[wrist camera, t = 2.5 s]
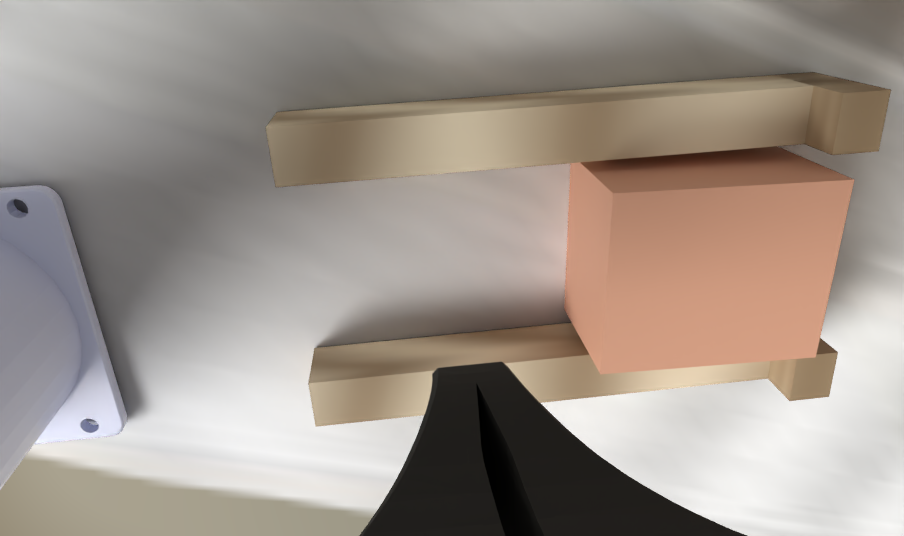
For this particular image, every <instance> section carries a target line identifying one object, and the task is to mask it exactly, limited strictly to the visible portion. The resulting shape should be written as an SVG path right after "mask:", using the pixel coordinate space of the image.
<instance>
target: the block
mask: <svg viewBox="0 0 904 536" xmlns="http://www.w3.org/2000/svg"><path fill="white" fill-rule="evenodd" d="M853 184H854V179H852V178H849V177H847V176H845V175H842V174H840V173H838V172H835V171H833V170H831V169H828V168H826V167H824V166H821V165H819V164H817V163H814V162H812V161H810V160H808V159H805V158H803V157H801V156H798V155H796V154H794V153H791V152H789V151H787V150H784V149H782V148H780V147H777V146H774V147H762V148H749V149H737V150H725V151H713V152H701V153H688V154H676V155H664V156H652V157H640V158H627V159H615V160H603V161H591V162H579V163H571V167H570V189H569V212H568V235H567V258H566V281H565V304H564V309H565V311H566V313H567V315H568V317H569V319H570V320H571V322H572V324H573V326H574V328H575V329H576V331H577V333H578V335H579V337H580V338H581V340H582V342H583V344H584V346H585V347H586V349H587V351H588V353H589V355H590V356H591V358H592V360H593V362H594V364H595V365H596V367H597V369H598V371H599V373H600V374H611V373H624V372H637V371H649V370H662V369H675V368H688V367H700V366H713V365H726V364H738V363H751V362H764V361H776V360H789V359H802V358H814V357H816V354H817V349H818V344H819V340H820V335H821V331H822V326H823V321H824V317H825V312H826V308H827V303H828V299H829V294H830V289H831V285H832V280H833V276H834V271H835V266H836V262H837V257H838V253H839V248H840V243H841V239H842V234H843V230H844V225H845V221H846V216H847V211H848V207H849V202H850V198H851V193H852V188H853Z"/></svg>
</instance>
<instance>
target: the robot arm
mask: <svg viewBox="0 0 904 536" xmlns="http://www.w3.org/2000/svg"><path fill="white" fill-rule="evenodd" d="M14 199H18V200H21V201H23V202H24V203H25V204H26V206H27V207H28V213H22V212H20V211H19V210H17V208H16V207H15V205H14ZM86 419H93V420H95V421H96V422H97V423H98V425H92V424H90V423H88V422H87V420H86ZM126 422H127V414H126V410H125V407H124V404H123V401H122V397H121V394H120V391H119V387H118V384H117V381H116V378H115V374H114V371H113V368H112V364H111V361H110V358H109V354H108V351H107V348H106V345H105V341H104V338H103V335H102V331H101V328H100V325H99V321H98V318H97V315H96V312H95V308H94V305H93V302H92V298H91V295H90V292H89V288H88V285H87V282H86V279H85V275H84V272H83V269H82V265H81V262H80V259H79V255H78V252H77V249H76V246H75V242H74V239H73V236H72V232H71V229H70V226H69V222H68V219H67V216H66V213H65V209H64V206H63V203H62V200H61V198H60V196H59V195H58V194H57V193H56V192H55V191H54V190H53V189H51V188H49V187H47V186H41V185H32V186H20V187H7V188H0V490H1V488H2V487H3V485H4V484H5V483H6V481H7V480H8V479H9V477H10V476H11V475H12V473H13V472H14V471H15V469H16V468H17V466H18V465H19V464H20V462H21V461H22V460H23V458H24V457H25V456H26V454H27V453H28V451H29V450H30V449H31V447H32V446H33V445H34V444H42V443H52V442H62V441H71V440H81V439H90V438H100V437H109V436H114V435H117V434H119V433H120V432H121V431H122V430H123V428H124V426H125V424H126ZM360 536H747V535H744V534H741V533H739V532H736V531H733V530H731V529H729V528H726V527H724V526H722V525H720V524H718V523H715V522H713V521H711V520H709V519H707V518H704V517H702V516H700V515H698V514H696V513H693V512H691V511H689V510H688V509H686V508H684V507H682V506H680V505H678V504H676V503H674V502H672V501H670V500H668V499H666V498H665V497H663V496H661V495H659V494H658V493H656V492H654V491H652V490H651V489H649V488H647V487H645V486H644V485H642V484H640V483H639V482H637V481H635V480H634V479H632V478H631V477H629V476H627V475H626V474H624V473H623V472H621V471H620V470H619V469H617V468H616V467H614V466H613V465H611V464H610V463H608V462H607V461H606V460H604V459H603V458H601V457H600V456H599V455H597V454H596V453H595V452H593V451H592V450H591V449H590V448H588V447H587V446H586V445H585V444H584V443H583V442H581V441H580V440H579V439H578V438H577V437H575V436H574V435H573V434H572V433H571V432H570V431H569V430H568V429H566V428H565V427H564V426H563V425H562V424H561V423H560V422H559V421H558V420H557V419H556V418H555V417H554V416H553V415H552V414H551V413H550V412H549V411H548V410H547V409H546V408H545V407H544V406H543V405H542V404H541V403H540V402H539V401H538V400H537V399H536V398H535V397H534V396H533V395H532V394H531V393H530V392H529V391H528V390H527V388H526V387H525V386H524V385H523V384H522V383H521V382H520V381H519V379H518V378H517V377H516V376H515V375H514V373H513V372H512V371H511V370H510V369H509V367H508V366H507V365H506V364H504V363H503V362H492V363H481V364H471V365H461V366H451V367H441V368H437V369H436V370H435V371H434V372H433V373H432V388H431V393H430V398H429V402H428V405H427V409H426V412H425V415H424V418H423V421H422V424H421V426H420V429H419V432H418V435H417V437H416V439H415V442H414V444H413V446H412V448H411V451H410V453H409V455H408V457H407V459H406V462H405V464H404V466H403V468H402V470H401V472H400V474H399V475H398V477H397V479H396V481H395V483H394V485H393V486H392V488H391V490H390V491H389V493H388V495H387V496H386V498H385V500H384V501H383V503H382V504H381V506H380V507H379V509H378V510H377V512H376V513H375V515H374V516H373V517H372V519H371V520H370V522H369V524H368V525H367V526H366V528H365V529H364V530H363V532H362V533H361V534H360Z"/></svg>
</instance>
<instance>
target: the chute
mask: <svg viewBox="0 0 904 536" xmlns="http://www.w3.org/2000/svg"><path fill="white" fill-rule="evenodd" d="M890 92H891V90H890V89H885V88H881V87H876V86H872V85H868V84H863V83H859V82H854V81H850V80H845V79H841V78H836V77H832V76H828V75H823V74H819V73H814V72H808V73H795V74H781V75H768V76H754V77H741V78H727V79H714V80H701V81H687V82H674V83H660V84H647V85H633V86H620V87H607V88H593V89H580V90H566V91H553V92H540V93H526V94H513V95H499V96H486V97H472V98H459V99H446V100H432V101H419V102H405V103H392V104H378V105H365V106H352V107H338V108H325V109H311V110H298V111H284V112H277V113H276V114H275V115H274V117H273V118H272V119H271V121H270V122H269V123H268V125H267V126H266V133H267V139H268V145H269V151H270V157H271V163H272V169H273V175H274V181H275V187H286V186H298V185H310V184H323V183H335V182H347V181H359V180H371V179H384V178H396V177H408V176H420V175H432V174H445V173H457V172H469V171H481V170H493V169H506V168H518V167H530V166H542V165H554V164H566V163H579V162H591V161H603V160H615V159H627V158H640V157H652V156H664V155H676V154H688V153H701V152H713V151H725V150H737V149H749V148H762V147H774V146H786V145H798V144H806V145H808V146H811V147H813V148H816V149H818V150H821V151H823V152H826V153H828V154H831V155H839V154H851V153H863V152H875V151H879V146H880V141H881V136H882V131H883V127H884V122H885V117H886V112H887V107H888V102H889V97H890ZM837 354H838V352H837V351H836V350H834V349H833V348H832V347H831V346H829V345H828V344H827V343H826V342H825V341H823V340H822V339H821V338H820V340H819V344H818V349H817V354H816V357H814V358H802V359H789V360H776V361H764V362H751V363H738V364H726V365H713V366H700V367H688V368H675V369H662V370H649V371H637V372H624V373H611V374H600V373H599V371H598V369H597V367H596V365H595V364H594V362H593V360H592V358H591V356H590V355H589V353H588V351H587V349H586V347H585V346H584V344H583V342H582V340H581V338H580V337H579V335H578V333H577V331H576V329H575V328H574V326H573V324H572V323H562V324H552V325H542V326H532V327H522V328H512V329H501V330H491V331H481V332H471V333H461V334H451V335H441V336H430V337H420V338H410V339H400V340H390V341H380V342H369V343H359V344H349V345H339V346H329V347H319V348H314V354H313V360H312V366H311V372H310V377H309V383H308V384H309V390H310V396H311V401H312V407H313V413H314V419H315V425H316V426H326V425H335V424H344V423H354V422H363V421H373V420H382V419H391V418H401V417H410V416H420V415H425V412H426V409H427V405H428V402H429V398H430V393H431V388H432V373H433V372H434V371H435V370H436V369H437V368H441V367H451V366H461V365H471V364H481V363H492V362H503V363H504V364H506V365H507V366H508V367H509V369H510V370H511V371H512V372H513V373H514V375H515V376H516V377H517V378H518V379H519V381H520V382H521V383H522V384H523V385H524V386H525V387H526V388H527V390H528V391H529V392H530V393H531V394H532V395H533V396H534V397H535V398H536V399H537V400H538V401H539V402H540V403H542V402H551V401H561V400H570V399H579V398H589V397H598V396H608V395H617V394H626V393H636V392H645V391H655V390H664V389H673V388H683V387H692V386H702V385H711V384H720V383H730V382H739V381H749V380H758V379H767V378H768V379H769V380H770V381H771V382H772V383H773V384H774V385H775V386H776V387H777V388H778V390H779V391H780V392H781V393H782V394H783V395H784V396H785V397H786V398H787V399H788V400H789V401H794V400H803V399H812V398H821V397H829V394H830V389H831V384H832V379H833V374H834V369H835V364H836V359H837Z"/></svg>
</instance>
